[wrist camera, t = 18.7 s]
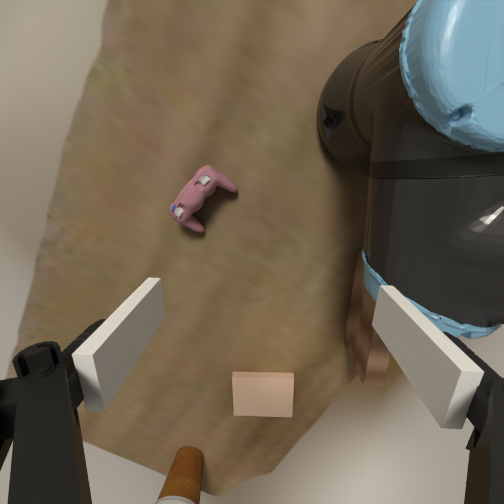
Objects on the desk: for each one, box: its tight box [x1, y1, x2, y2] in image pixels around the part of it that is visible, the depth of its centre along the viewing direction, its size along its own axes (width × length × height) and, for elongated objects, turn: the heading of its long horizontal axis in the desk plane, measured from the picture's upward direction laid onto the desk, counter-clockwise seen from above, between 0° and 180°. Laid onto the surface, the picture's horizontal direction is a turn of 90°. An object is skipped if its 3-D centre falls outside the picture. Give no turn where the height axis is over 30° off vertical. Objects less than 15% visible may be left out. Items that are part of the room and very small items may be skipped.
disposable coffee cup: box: [155, 447, 204, 504], centre depth 54 cm, size 10×10×12 cm
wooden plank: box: [344, 250, 391, 385], centre depth 40 cm, size 18×3×10 cm, turn 179°
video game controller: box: [169, 165, 238, 232], centre depth 38 cm, size 10×5×7 cm, turn 139°
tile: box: [232, 372, 294, 417], centre depth 52 cm, size 2×12×10 cm
